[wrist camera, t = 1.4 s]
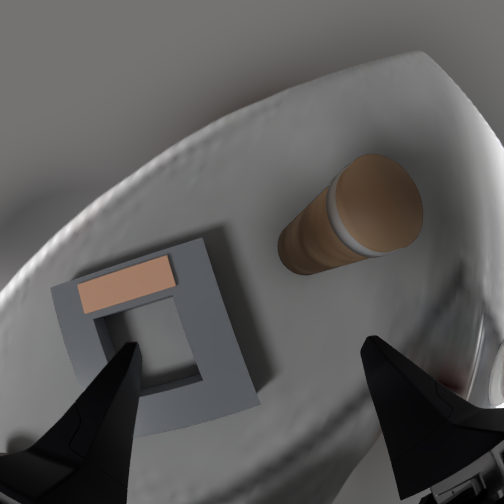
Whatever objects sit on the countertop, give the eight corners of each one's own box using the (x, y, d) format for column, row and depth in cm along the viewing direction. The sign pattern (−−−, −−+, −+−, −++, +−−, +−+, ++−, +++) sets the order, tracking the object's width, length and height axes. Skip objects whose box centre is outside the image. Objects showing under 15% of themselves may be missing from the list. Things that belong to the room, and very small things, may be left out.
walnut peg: (337, 265, 25) (436, 234, 13) (287, 284, 24) (367, 265, 12) (318, 214, 26) (399, 148, 13) (268, 228, 25) (325, 159, 12)
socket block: (255, 394, 22) (261, 405, 19) (114, 430, 19) (105, 442, 17) (203, 243, 24) (202, 236, 21) (63, 289, 21) (48, 287, 18)
